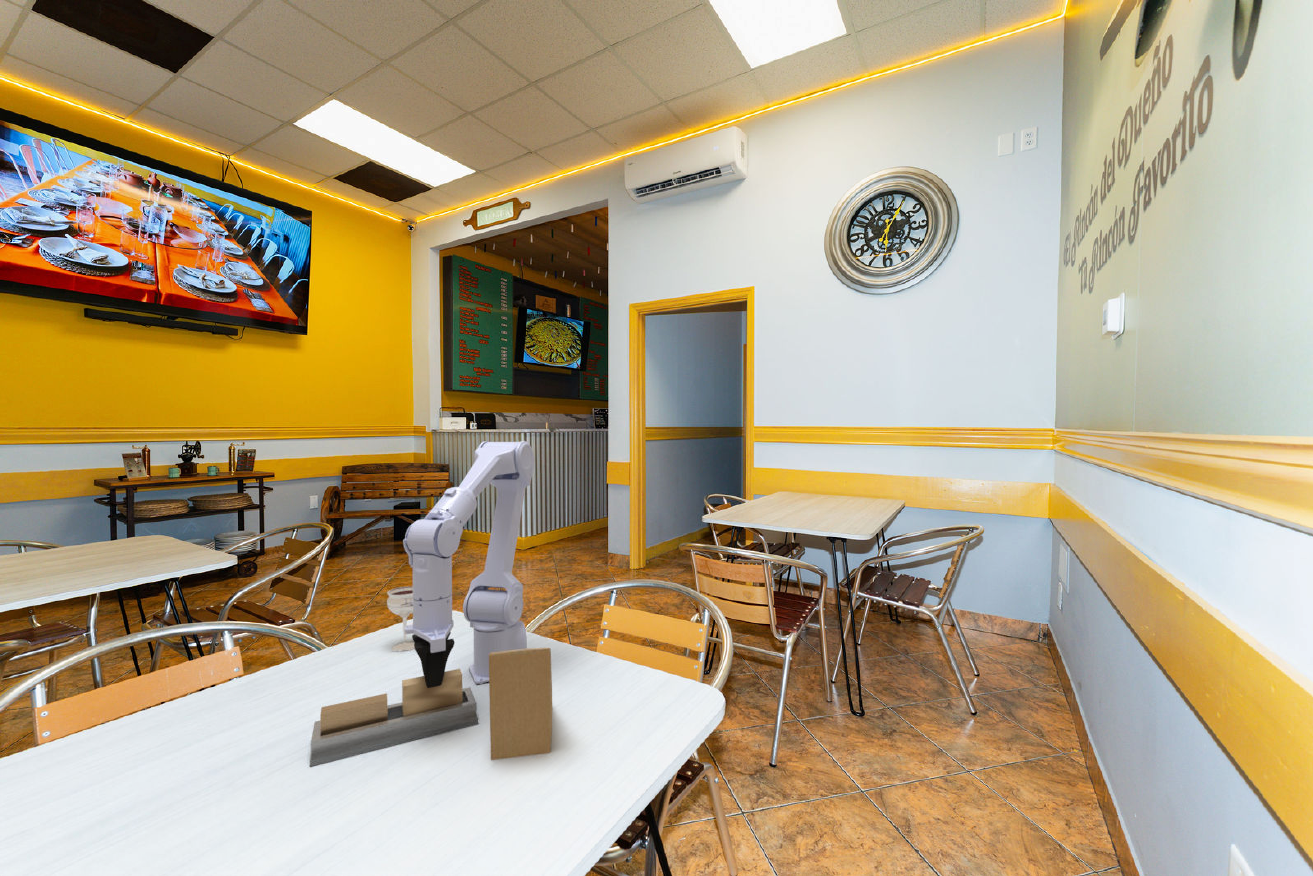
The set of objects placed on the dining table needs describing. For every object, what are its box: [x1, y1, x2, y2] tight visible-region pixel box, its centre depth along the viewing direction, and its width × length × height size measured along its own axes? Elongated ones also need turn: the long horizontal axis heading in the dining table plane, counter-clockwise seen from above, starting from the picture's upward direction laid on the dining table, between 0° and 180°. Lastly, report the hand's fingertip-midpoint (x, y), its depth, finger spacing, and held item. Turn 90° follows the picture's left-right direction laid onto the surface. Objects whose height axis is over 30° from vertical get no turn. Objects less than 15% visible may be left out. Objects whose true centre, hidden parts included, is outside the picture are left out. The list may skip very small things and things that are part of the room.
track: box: [309, 687, 479, 767], centre depth 82 cm, size 22×9×5 cm, turn 119°
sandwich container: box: [488, 647, 553, 761], centre depth 82 cm, size 9×15×15 cm, turn 11°
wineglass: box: [386, 585, 415, 652], centre depth 114 cm, size 7×7×12 cm
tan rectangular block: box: [401, 668, 463, 716], centre depth 84 cm, size 8×2×4 cm, turn 119°
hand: (433, 682), depth 84 cm, fingers closed on tan rectangular block, 2 cm apart
